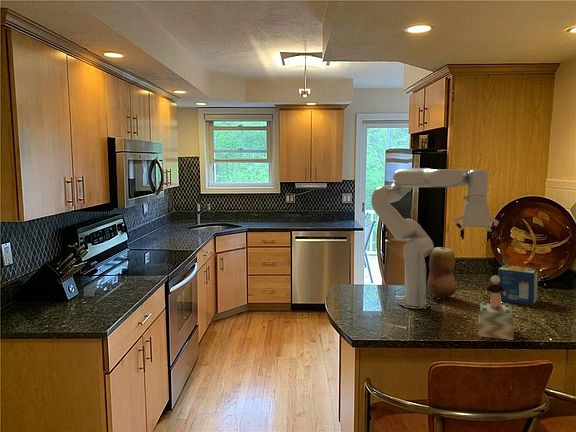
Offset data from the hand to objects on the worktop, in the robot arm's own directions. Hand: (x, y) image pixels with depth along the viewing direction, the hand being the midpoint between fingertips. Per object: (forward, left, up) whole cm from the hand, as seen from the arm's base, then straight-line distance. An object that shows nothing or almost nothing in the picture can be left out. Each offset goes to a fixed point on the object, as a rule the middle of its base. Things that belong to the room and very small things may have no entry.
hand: (475, 239), depth 191 cm
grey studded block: (+8, -19, -33) cm, 39 cm away
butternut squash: (-15, +24, -34) cm, 44 cm away
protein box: (+19, +31, -34) cm, 50 cm away
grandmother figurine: (+7, -18, -23) cm, 31 cm away
